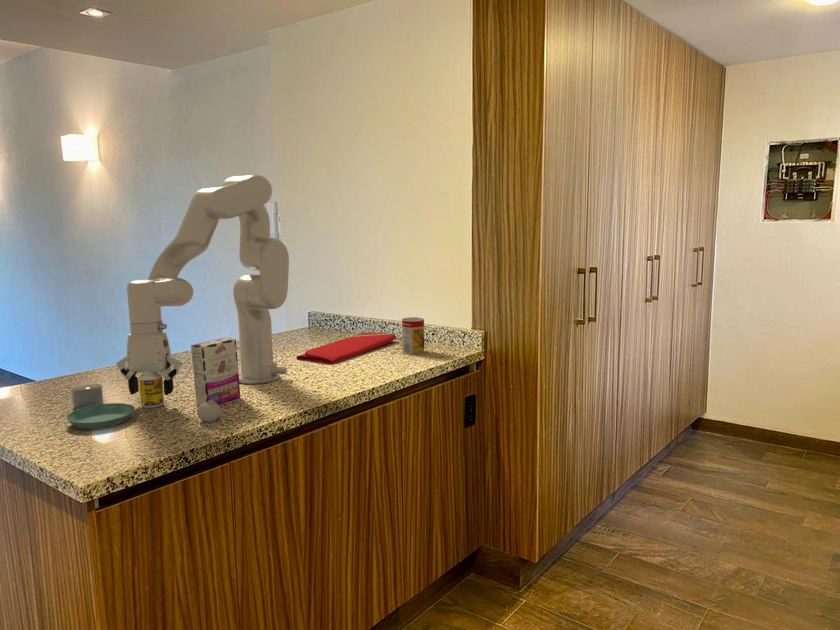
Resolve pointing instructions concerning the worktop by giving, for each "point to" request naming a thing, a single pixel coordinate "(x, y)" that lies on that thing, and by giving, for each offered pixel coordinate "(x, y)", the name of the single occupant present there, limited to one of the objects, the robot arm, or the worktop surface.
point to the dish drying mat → (346, 348)
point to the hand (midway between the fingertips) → (151, 393)
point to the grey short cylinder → (87, 395)
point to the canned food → (413, 335)
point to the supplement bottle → (151, 389)
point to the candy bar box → (216, 371)
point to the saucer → (100, 415)
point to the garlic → (209, 411)
